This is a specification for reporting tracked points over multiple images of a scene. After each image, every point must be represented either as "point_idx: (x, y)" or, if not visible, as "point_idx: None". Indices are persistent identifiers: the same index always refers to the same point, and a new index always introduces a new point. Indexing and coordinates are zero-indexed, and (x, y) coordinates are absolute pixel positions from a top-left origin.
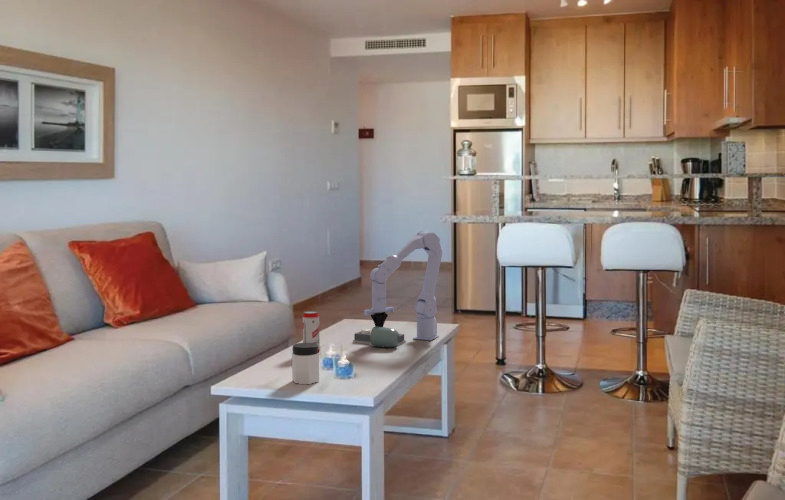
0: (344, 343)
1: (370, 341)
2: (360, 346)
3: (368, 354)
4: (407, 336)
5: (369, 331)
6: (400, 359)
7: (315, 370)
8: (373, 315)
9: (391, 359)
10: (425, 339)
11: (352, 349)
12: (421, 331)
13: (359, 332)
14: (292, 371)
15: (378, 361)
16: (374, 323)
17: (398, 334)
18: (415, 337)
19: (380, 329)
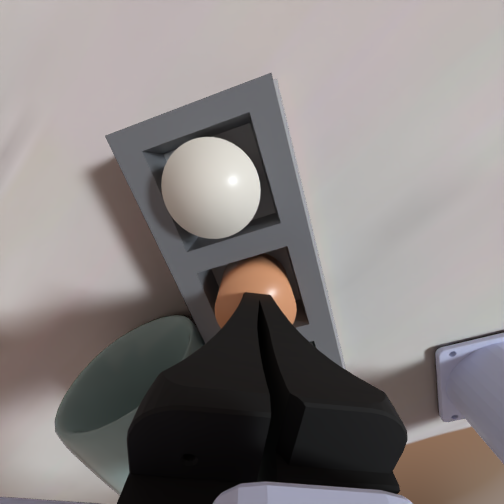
0: (52, 121)
1: (94, 359)
2: (93, 271)
3: (30, 403)
4: (500, 279)
5: (214, 237)
6: (91, 500)
7: None
8: (139, 466)
9: (65, 487)
10: (439, 402)
11: (12, 291)
12: (479, 423)
13: (180, 128)
14: None
15: (6, 479)
16: (225, 324)
17: None
18: (455, 355)
19: (101, 479)
